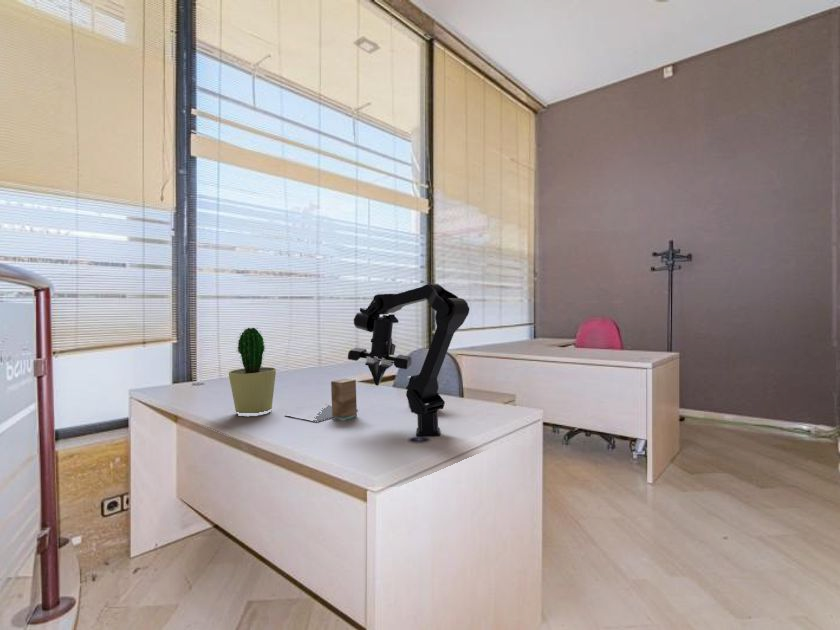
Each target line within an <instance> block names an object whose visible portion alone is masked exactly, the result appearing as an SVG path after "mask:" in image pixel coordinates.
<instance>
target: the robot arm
mask: <svg viewBox="0 0 840 630" xmlns="http://www.w3.org/2000/svg"><path fill="white" fill-rule="evenodd" d="M425 301H428V304H429V306H430V307H431V308H432V309H433V310H434V311H435V315H434V316H435V317H434V319H435V324H436V325H435V326H436V328H435V331H434V334H433V336H432V339H431V342H430V345H429V348H428V350H427V354H426V356H425V358H424V362H423V363H422V364H423V365H422V366H421V370H420V372H419V374H415V375H410V376H411V377H410V379H409V384H408V383H407V386H406V387H405V390H406V393H405V394H406V397H407V398H406V399H407V403H408V402H409V406H410V407H409V406H408V407H409V409H410V412H411V413H414V414H415V415H416V416H417V417H416V418H417V427H416V431H415V436H417V437H423V436H424V437H425V436H427V437H428V436H429V437H431V436H433V437H434V436H435V437H436V436H440V435H441V431H440V430H441V428H440V427H439V410H442V409H444V407H445V401H444V399H443V398H442V397H441V395H440V394H439V380H438V381H437V378H438V377H439V374H440V371H441V370H442V369H441V368H442V366H443V363H444V360H445V359H446V356H447V352H448V351H449V348H450V344H451V342H452V340H453V337H454V334H455V333H456V332H457V330H458V329H459V328H460V327H461V326H462V325H463V324H464V323H465V321H466V319H467V317H468V315H469V314H470V306H469V304H468V302H467V301H466V300H465V299H464V298H461V297H459V296H457V295H455V293H452V292H450V291H449V290H447V289H445V288H444V286H441V285H440V284H438V283H426V284H424V285H422V286H418V287H414V288H411V289H407V290H404V291H400V292H396V293H376V294H375V295H374V296H373V298H372V300H371V302H370V303H369V305H368V306H367V307H360V308H359V311H358V312H357V313H356V314H355V316H354V317H353V325H354V327H355V328H357V329H358V330H362V331H365V332H369V333H372V338H371V339H370V343H371V346H370V349H371V350H370V352H367V351H368V350H367V349H366V348H362V347H354V348H351V349H349V351H348V353H347V359H348V360H351V361H359V360H360V359H366V361H365V362H364V364H365V365H364V366H367V367H368V369H369V371H370V374H371V376H372V379H373V382H374V386H377V387H378V386H379V385H380V383H381V381H382V379H383V377H384V375H385V372H386V371H387V370H388V369H390V368H391V367H392V366H394V367H395V368H396V369H401V370H402V369H403V370H407V369H409V367H411V366H412V362H413V361H412V357H411V356H410V355H404V354H398V355H396V356H395V351H396V344H395V343H393V338H392V336H393V328H394V327H393V326H394V325H393V324H396V323H397V324H398V323H400V322H399V319H398V317H397V316H396V315H395V313H396V312H398V311H400V310H402V309H403V308H404V307H405V306H409V305H413V304H417V303H421V302H425ZM393 313H394V314H393ZM380 362H381V363H380ZM427 403H429V405H425V404H427Z"/></svg>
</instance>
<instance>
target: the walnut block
mask: <svg viewBox="0 0 840 630" xmlns="http://www.w3.org/2000/svg"><path fill="white" fill-rule="evenodd" d="M330 383H331V385H330V387H331V388H330V389H331V405H332V418H335V419H334V420H336V419H340V420H339V421H341V420H345V421H347V420H346V419H348V420H350V419H349V418H351V419H354V418H353V417H355V418H356V416H357V417H358V414H357V413H358V411H357V410H358V407H357V405H358V404H357V381H356V379H352V378H351V379H350V378H340V379H335V380H332V381H331V382H330ZM332 418H331V419H332Z"/></svg>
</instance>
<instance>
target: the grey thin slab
mask: <svg viewBox="0 0 840 630" xmlns="http://www.w3.org/2000/svg"><path fill="white" fill-rule="evenodd" d="M327 405H328V406H327V407H326V408H324V409H323V408H322V409H323V410H321V411H322V413H321V412H319V413H318V414H317V415H319V416H316V418H315V417H314V418H315V419H317V420H313V421H316V422H317V421H321V420H324V419H328V418H331V419H332V406H330V405H331V404H327ZM358 411H359V409H357V412H358ZM320 413H321V414H320ZM328 420H329V419H328ZM321 422H322V421H321Z"/></svg>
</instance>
